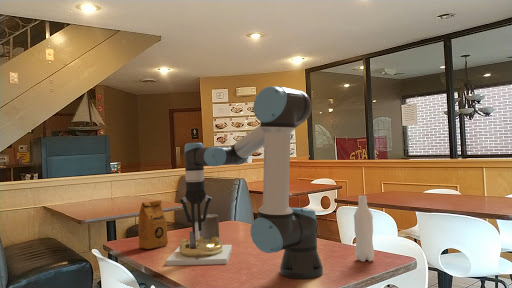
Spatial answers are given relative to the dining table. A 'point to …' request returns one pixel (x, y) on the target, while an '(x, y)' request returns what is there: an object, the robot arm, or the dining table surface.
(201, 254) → the gold round notched piece
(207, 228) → the pillar candle
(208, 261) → the mount plate
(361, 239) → the water bottle
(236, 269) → the dining table surface
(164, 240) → the coffee package
